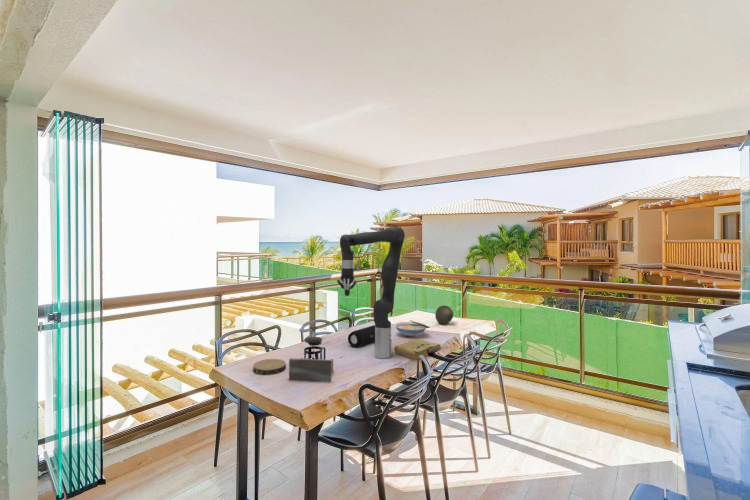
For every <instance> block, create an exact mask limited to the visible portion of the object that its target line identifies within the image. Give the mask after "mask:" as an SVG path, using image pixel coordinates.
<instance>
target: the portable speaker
mask: <svg viewBox="0 0 750 500" xmlns="http://www.w3.org/2000/svg"><path fill="white" fill-rule="evenodd" d="M347 341H348V344H349V345H350V346H351V347H355V348H359V347H361V346H363V345H367V344H370V343H373V342H375V324H374V325H370V326H367V327H363V328H360V329H356V330H353V331H351V332H350V333H349V334H348V336H347Z"/></svg>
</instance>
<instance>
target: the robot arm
mask: <svg viewBox="0 0 750 500" xmlns="http://www.w3.org/2000/svg"><path fill="white" fill-rule="evenodd" d="M405 233H406V232H405V231H404V229H403V228H402V227H400V226H390V227H388V228H384V229H380V230H376V231H365V232H359V233H355V234H354V233H353V234H343V235H341V236H340V238H339V245H340V250H341V267H340V268H341V269H340V270H341V271H340V272H341V274H340V278H339V279H337V280H336V282H337V284H338V285H339V286H340V288H341V289H343V290H344V295H345V297H348V296H350V295H351V293H350V292H351V289H353V288H354V287H355V286H356V284H357V283H358V280H356V279H355V274H354V272H355V271H354V270H355V263H354V257H355V256H354V254H355V253H354V251H353V250H352V249H351V247H353V246H360V245H369V244H375V243H381V242H382V243H389V250H388V251H387V252H388V253H387V254H386V256H385V259H384V261H383V263H382V268H381V275H380V278H381V283H382V295H381V298H380V299H378V300H376V301H375V302H374V305H373V322H374V325H375V341H374V357H375V358H376V359H377V358H378V359H390V358H391V356H392V322H391V321H390V320H389V314H390V313H391V312H393V309H394V303H395V289H396V285H397V279H398V278H397V277H398V273H399V265H400V259H401V253H402V248H403V244H404V241H405V236H406V235H405Z"/></svg>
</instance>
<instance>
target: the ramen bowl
mask: <svg viewBox="0 0 750 500" xmlns="http://www.w3.org/2000/svg"><path fill="white" fill-rule="evenodd" d="M394 326H395V328H396V330H397V332H399V333H400V334H402V335H403V336H406V337H409V338H413V337H417V336H419V335H421V334H423V333H424V332H425V331H426V329H430V328H431V326H428V325H427V324H426V323H422V322H418V321H413V320H410V319H409V321H399V322H396V323H395V324H394Z"/></svg>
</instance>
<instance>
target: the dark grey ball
mask: <svg viewBox="0 0 750 500" xmlns="http://www.w3.org/2000/svg"><path fill="white" fill-rule="evenodd" d="M453 317H454V311H453V309H452V308H451V307H450V306H448V305H440V306H439V307H438V308H437V309H436V311H435V317H434V318H435V320H436V321H437V323H438V324H440V325H446V324H448V323H450V322H451V321H452V320H453Z"/></svg>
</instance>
